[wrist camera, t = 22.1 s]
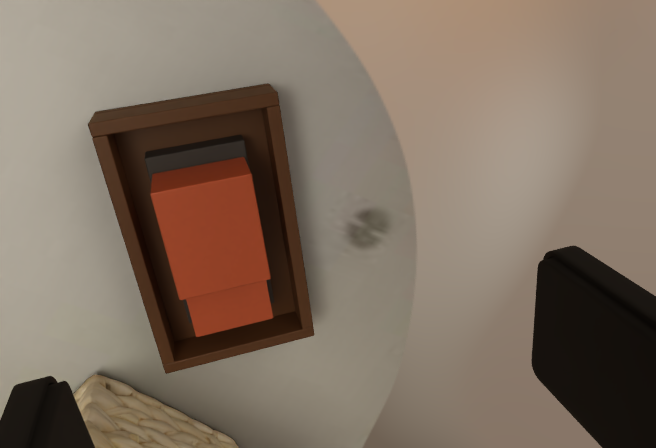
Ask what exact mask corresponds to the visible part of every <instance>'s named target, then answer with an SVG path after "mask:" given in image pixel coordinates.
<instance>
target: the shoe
mask: <svg viewBox="0 0 656 448" xmlns="http://www.w3.org/2000/svg"><path fill="white" fill-rule="evenodd" d="M144 160H145V163H146V167H147V171H148V174H149V178H150V182H151V193H150V195H151V199H152V203H153V206H154V210H155V213H156V217H157V221H158V224H159V228H160V231H161V235H162V239H163V242H164V246H165V249H166V253H167V257H168V260H169V264H170V267H171V271H172V275H173V278H174V282H175V285H176V289H177V293H178V296H179V299H180V300H183V302H184V306H185V309H186V313H187V317H188V320H189V323H193V327H194V331H195V334H196V337H200V336H204V335H208V334H212V333H216V332H220V331H224V330H228V329H232V328H236V327H240V326H244V325H248V324H252V323H256V322H260V321H264V320H268V319H272V318H273V313H272V308H271V304H272V303H274V297H273V291H272V286H271V281H270V279H271V276H270V270H269V265H268V260H267V254H266V249H265V243H264V238H263V233H262V227H261V222H260V216H259V211H258V206H257V200H256V195H255V189H254V184H253V179H252V174H251V172H250V168H249V163H248V157H247V152H246V146H245V141H244V139H243V137H242V135H235V136H229V137H224V138H218V139H213V140H207V141H202V142H196V143H191V144H185V145H180V146H174V147H169V148H163V149H158V150H152V151H147V152H145V158H144Z"/></svg>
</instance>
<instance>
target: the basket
mask: <svg viewBox="0 0 656 448" xmlns="http://www.w3.org/2000/svg"><path fill="white" fill-rule="evenodd" d="M73 396H74V398H75V400H76V403H77V405H78V408H79V410H80V412H81V415H82V417H83V420H84V422H85V424H86V427H87V429H88V432H89V434H90V436H91V439H92V441H93V444H94V446H95V448H239V447H238V446H237V444H236V443H235V441H234V440H233V439H232V438H230V437H228V436H227V435H225V434H223V433H221V432H218V431H216V430H212V429H211V428H210V427H208V426H207V425H205V424H203V423H201V422H199V421H196V420H193V419H191V418H189V417H188V416H187V415H185V414H184V413H182V412H180V411H178V410H176V409H174V408H171V407H169V406H166V405H164V404H162V403H161V402H159V401H157V400H155V399H154V398H152V397H149V396H147V395H144V394H142V393H139V392H137V391H135V390H134V389H133V388H132V387H130V386H128V385H126V384H124V383H122V382H119V381H116V380H113V379H110V378H107V377H105V376H101V375H93V376H92V377H90V378H88V379H87V380H86V381H85V382H84V384H83V385H82V386H81V387H80V388H79V389H78V390H77V391H76V392H75V393H74V394H73Z"/></svg>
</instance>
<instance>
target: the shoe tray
mask: <svg viewBox="0 0 656 448" xmlns="http://www.w3.org/2000/svg"><path fill="white" fill-rule="evenodd" d="M88 126H89V129H90V132H91V136H92V137H93V138H92V139H93V142H94V146H95V149H96V152H97V155H98V158H99V162H100V165H101V168H102V171H103V174H104V178H105V181H106V184H107V187H108V190H109V194H110V197H111V200H112V203H113V206H114V210H115V213H116V216H117V219H118V222H119V226H120V229H121V232H122V235H123V238H124V242H125V245H126V248H127V251H128V255H129V258H130V261H131V264H132V267H133V271H134V274H135V277H136V280H137V283H138V287H139V290H140V293H141V296H142V299H143V303H144V306H145V309H146V312H147V315H148V319H149V322H150V325H151V328H152V331H153V335H154V338H155V341H156V344H157V347H158V351H159V354H160V357H161V360H162V364H163V367H164V370H165V373H171V372H175V371H178V370H182V369H186V368H190V367H194V366H198V365H202V364H206V363H209V362H213V361H217V360H221V359H225V358H229V357H233V356H236V355H240V354H244V353H248V352H252V351H256V350H260V349H263V348H267V347H271V346H275V345H279V344H283V343H287V342H290V341H294V340H298V339H302V338H306V337H310V336H314V329H313V322H312V315H311V309H310V302H309V295H308V289H307V282H306V276H305V269H304V262H303V256H302V249H301V243H300V236H299V230H298V223H297V216H296V210H295V203H294V197H293V190H292V183H291V177H290V170H289V164H288V157H287V151H286V144H285V137H284V131H283V124H282V118H281V111H280V106H279V99H278V93H277V92H276V91H275V90H274V89H273V88H272V87H271V86H270V84H263V85H256V86H250V87H244V88H238V89H232V90H226V91H220V92H214V93H208V94H202V95H196V96H190V97H183V98H177V99H171V100H165V101H159V102H153V103H147V104H141V105H135V106H129V107H123V108H117V109H110V110H104V111H98V112H95V113H94V115H93V117H92V118H91V120H90V122H89V123H88ZM235 135H242V137H243V139H244V141H245V146H246V152H247V157H248V163H249V168H250V172H251V174H252V179H253V184H254V189H255V195H256V200H257V206H258V211H259V216H260V222H261V227H262V233H263V238H264V243H265V249H266V254H267V260H268V265H269V270H270V276H271V279H270V281H271V286H272V291H273V297H274V303H272V304H271V308H272V313H273V318H272V319H268V320H264V321H260V322H256V323H252V324H248V325H244V326H240V327H236V328H232V329H228V330H224V331H220V332H216V333H212V334H208V335H204V336H200V337H196V334H195V331H194V327H193V323H189V320H188V317H187V313H186V309H185V306H184V302H183V300H180V299H179V296H178V293H177V289H176V285H175V282H174V278H173V275H172V271H171V267H170V264H169V260H168V257H167V253H166V249H165V246H164V242H163V239H162V235H161V231H160V228H159V224H158V221H157V217H156V213H155V210H154V206H153V203H152V199H151V195H150V193H151V182H150V178H149V174H148V171H147V167H146V163H145V160H144V158H145V152H147V151H152V150H158V149H163V148H169V147H174V146H180V145H185V144H191V143H196V142H202V141H207V140H213V139H218V138H224V137H229V136H235Z"/></svg>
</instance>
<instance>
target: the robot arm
mask: <svg viewBox="0 0 656 448" xmlns="http://www.w3.org/2000/svg"><path fill="white" fill-rule="evenodd" d="M532 349H533V350H532V367H533V370H534V373H535V375H536V376H537V378H538V379H539V380H540V381H541V382H542V383H543V384H544V386H545V387H546V388H547V389H548V390H549V391H550V392H551V393H552V394H553V395H554V396H555V397H556V398H557V400H558V401H559V402H560V403H561V404H562V405H563V406H564V407H565V408H566V409H567V410H568V411H569V412H570V413H571V414H572V416H573V417H574V418H575V419H576V420H577V421H578V422H579V423H580V424H581V425H582V426H583V427H584V428H585V429H586V431H587V432H588V433H589V434H590V435H591V436H592V437H593V438H594V439H595V440H596V441H597V442H598V443H599V444H600V446H601V447H602V448H656V296H654V295H653V294H651V293H649V292H648V291H646V290H645V289H643V288H642V287H640V286H639V285H637V284H635V283H634V282H632V281H631V280H629V279H628V278H626V277H625V276H623V275H621V274H620V273H618V272H617V271H615V270H613V269H612V268H610V267H609V266H607V265H606V264H604V263H603V262H601V261H599V260H598V259H596V258H595V257H593V256H592V255H590V254H589V253H587V252H585V251H584V250H582V249H581V248H579V247H577V246H569V247H565V248H561V249H557V250H553V251H549V252H547V253H546V254H545V256H544V259H543V260H542V261H540V263H539V265H538V273H537V289H536V303H535V318H534V333H533V348H532ZM0 448H95V446H94V444H93V441H92V439H91V436H90V434H89V432H88V429H87V427H86V424H85V422H84V420H83V417H82V415H81V412H80V410H79V408H78V405H77V403H76V400H75V398H74V396H73V393H72V391H71V388H70V386H69V384H68V383H67V382H66V381H63V382H59V383H57V381H56V379H55V378H54V377H52V376H48V377H44V378H40V379H36V380H32V381H28V382H24V383H20V384H17V385H15V386H14V388H13V390H12V392H11V394H10V397H9V400H8V402H7V405H6V407H5V410H4V412H3V415H2V418H1V420H0Z"/></svg>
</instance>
